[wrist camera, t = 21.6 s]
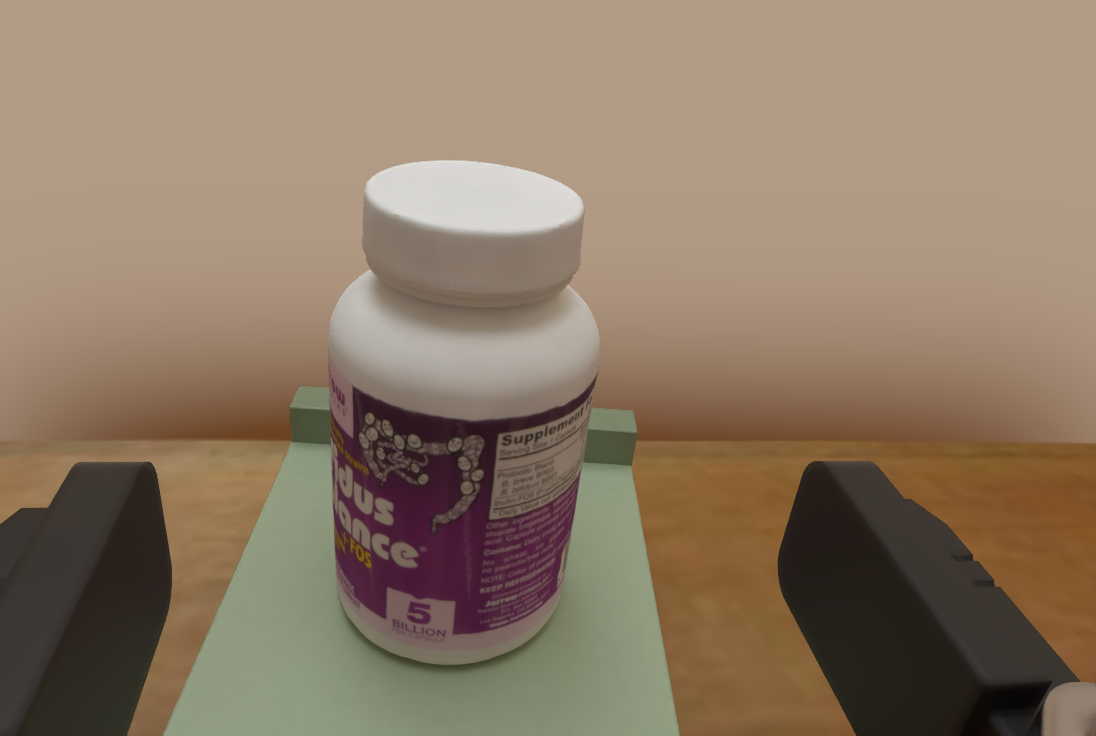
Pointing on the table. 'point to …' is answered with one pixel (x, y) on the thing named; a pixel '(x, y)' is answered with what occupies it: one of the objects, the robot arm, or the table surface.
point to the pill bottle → (459, 409)
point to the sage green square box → (417, 687)
